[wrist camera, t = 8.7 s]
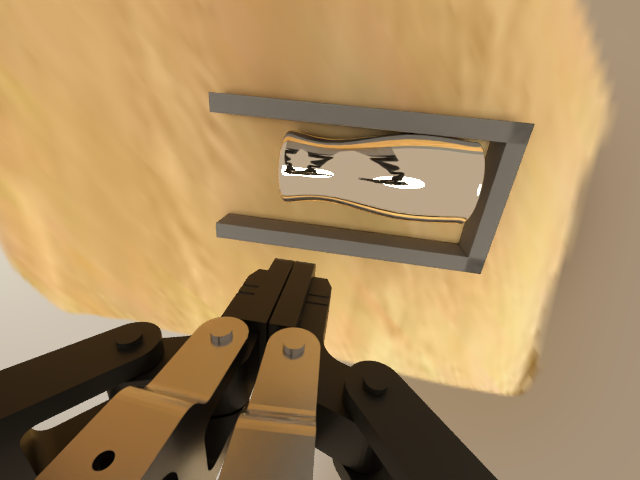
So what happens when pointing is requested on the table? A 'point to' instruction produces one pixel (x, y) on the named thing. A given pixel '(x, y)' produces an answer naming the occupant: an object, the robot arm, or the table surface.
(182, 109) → the table surface
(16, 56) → the table surface
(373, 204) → the beer glass
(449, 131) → the u rest
